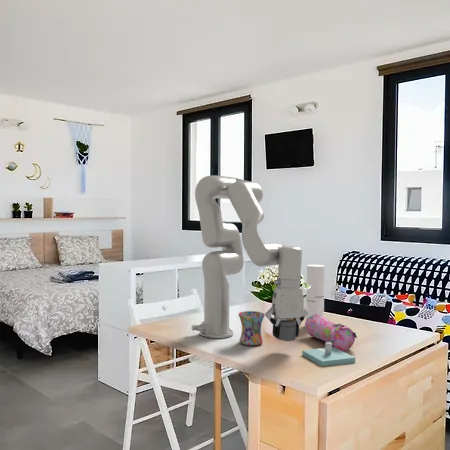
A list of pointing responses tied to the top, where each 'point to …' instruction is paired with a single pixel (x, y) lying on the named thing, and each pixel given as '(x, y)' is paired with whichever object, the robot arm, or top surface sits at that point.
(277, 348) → the top surface
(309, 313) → the cylindrical container
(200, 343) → the top surface
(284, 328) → the knob
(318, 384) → the top surface
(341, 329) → the pencil case
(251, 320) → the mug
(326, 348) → the teal peg base
